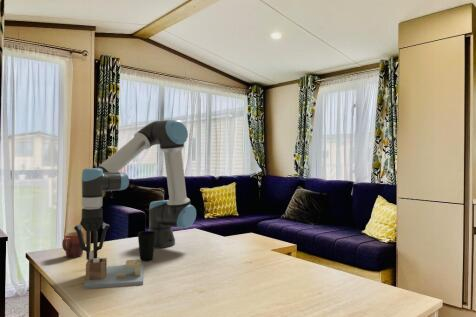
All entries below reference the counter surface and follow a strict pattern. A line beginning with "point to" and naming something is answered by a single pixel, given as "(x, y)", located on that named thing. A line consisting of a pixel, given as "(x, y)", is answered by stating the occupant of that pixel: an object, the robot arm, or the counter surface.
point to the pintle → (96, 260)
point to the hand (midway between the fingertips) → (91, 267)
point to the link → (96, 269)
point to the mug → (72, 245)
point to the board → (112, 278)
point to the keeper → (132, 264)
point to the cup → (146, 245)
